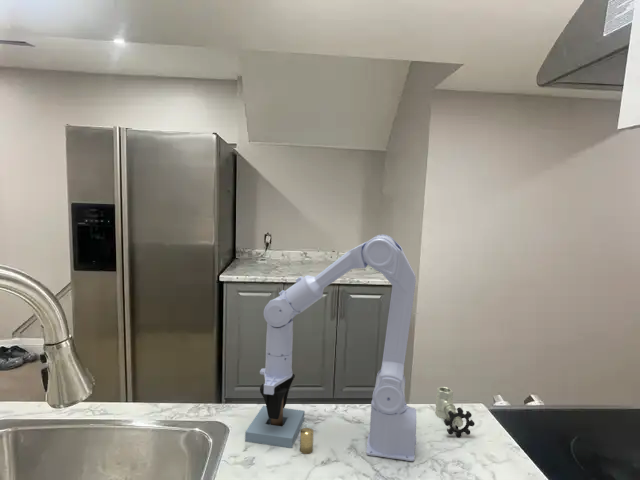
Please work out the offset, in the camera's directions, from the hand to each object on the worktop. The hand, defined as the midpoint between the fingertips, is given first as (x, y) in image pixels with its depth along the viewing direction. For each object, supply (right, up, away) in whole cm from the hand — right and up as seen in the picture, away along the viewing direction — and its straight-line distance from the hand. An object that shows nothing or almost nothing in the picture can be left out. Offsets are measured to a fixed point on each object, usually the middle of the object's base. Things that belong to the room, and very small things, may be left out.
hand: (276, 412), depth 91 cm
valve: (+40, -6, +6) cm, 41 cm away
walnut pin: (0, -4, 0) cm, 4 cm away
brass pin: (+7, -5, -7) cm, 11 cm away
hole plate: (0, -4, 0) cm, 4 cm away
